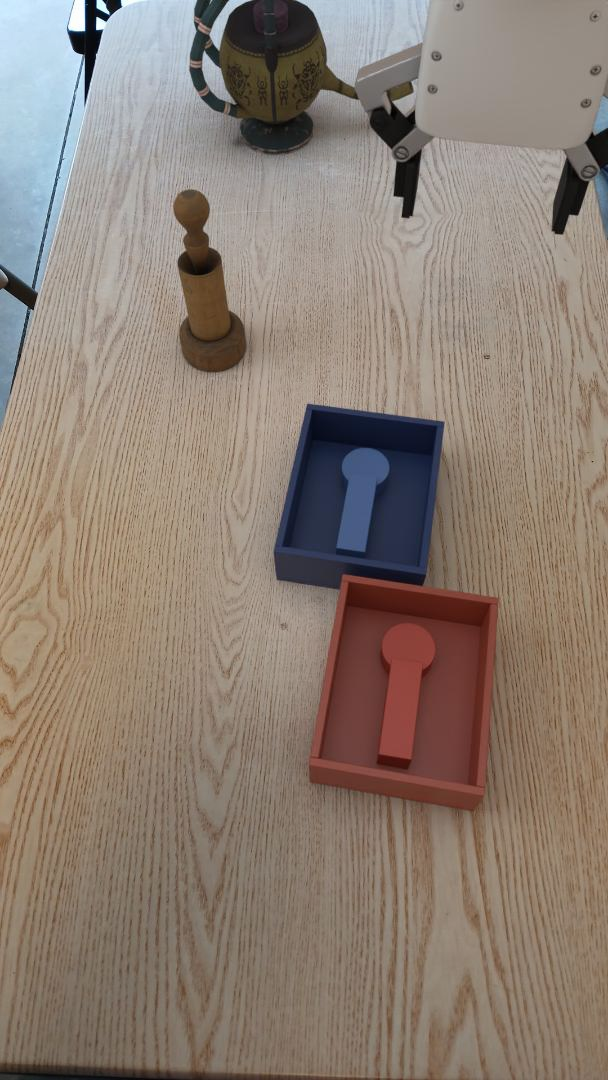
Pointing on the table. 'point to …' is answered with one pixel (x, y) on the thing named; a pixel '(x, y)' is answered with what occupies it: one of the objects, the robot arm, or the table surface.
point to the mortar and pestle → (205, 293)
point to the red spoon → (402, 690)
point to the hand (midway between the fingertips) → (482, 212)
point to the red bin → (444, 700)
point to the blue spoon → (360, 498)
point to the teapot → (268, 70)
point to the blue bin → (321, 497)
